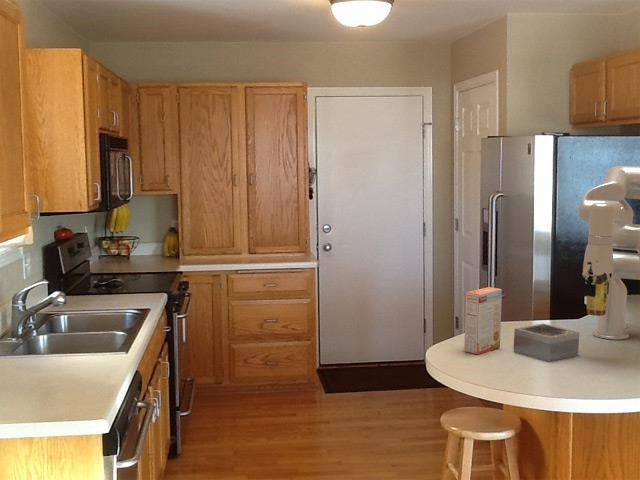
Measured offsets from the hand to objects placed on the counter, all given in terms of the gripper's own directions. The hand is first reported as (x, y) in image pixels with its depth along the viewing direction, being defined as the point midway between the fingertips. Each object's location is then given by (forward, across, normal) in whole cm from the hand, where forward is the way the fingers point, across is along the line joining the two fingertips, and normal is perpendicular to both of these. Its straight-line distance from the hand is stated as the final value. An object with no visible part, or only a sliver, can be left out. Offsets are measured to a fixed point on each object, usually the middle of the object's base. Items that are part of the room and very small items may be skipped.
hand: (597, 294), depth 258 cm
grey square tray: (+22, +7, -13) cm, 26 cm away
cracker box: (+22, +24, -28) cm, 42 cm away
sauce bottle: (+7, 0, 0) cm, 7 cm away
